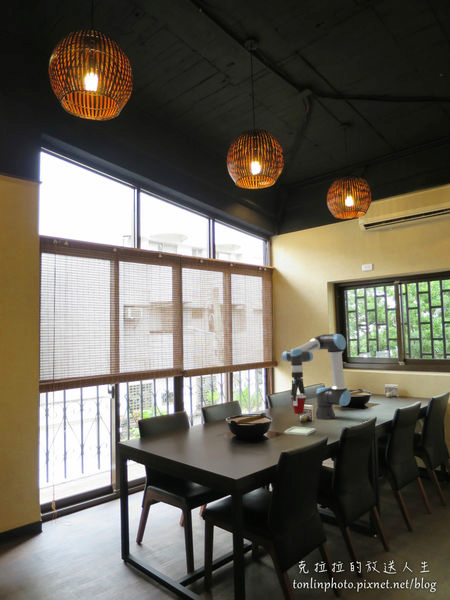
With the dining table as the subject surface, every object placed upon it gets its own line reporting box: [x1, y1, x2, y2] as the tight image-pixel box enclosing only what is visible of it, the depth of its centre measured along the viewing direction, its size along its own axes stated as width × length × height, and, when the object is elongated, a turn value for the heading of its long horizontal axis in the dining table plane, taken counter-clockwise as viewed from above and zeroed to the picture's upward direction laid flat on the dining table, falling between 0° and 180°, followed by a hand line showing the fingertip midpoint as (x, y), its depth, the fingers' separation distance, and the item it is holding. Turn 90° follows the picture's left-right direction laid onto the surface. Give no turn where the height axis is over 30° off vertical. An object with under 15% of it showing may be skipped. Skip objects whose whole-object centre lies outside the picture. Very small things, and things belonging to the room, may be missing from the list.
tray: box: [283, 426, 317, 437], centre depth 286 cm, size 16×16×1 cm
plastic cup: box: [290, 394, 307, 415], centre depth 287 cm, size 11×11×12 cm
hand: (298, 404), depth 287 cm, fingers closed on plastic cup, 11 cm apart
